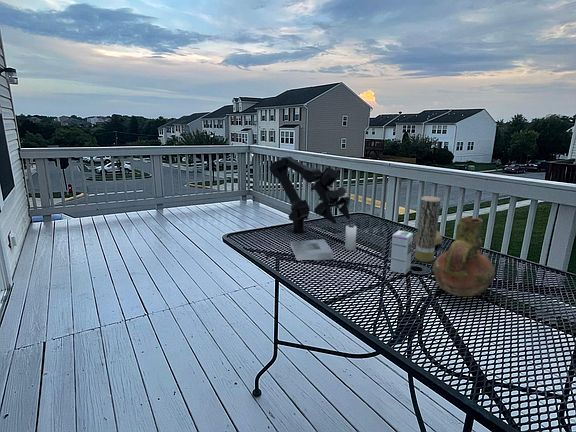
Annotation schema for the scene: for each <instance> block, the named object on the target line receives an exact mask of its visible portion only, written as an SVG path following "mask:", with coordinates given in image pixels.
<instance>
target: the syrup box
mask: <svg viewBox="0 0 576 432" xmlns="http://www.w3.org/2000/svg"><path fill="white" fill-rule="evenodd" d="M413 239H414V233H413V232H411V231H406V230H399V229H398V230H397V231H396V232H394V233H393V234H392V241H391V255H390V269H389V270H390V272H394V273H397V272H399V273H398V274H401V273H404V274H403V275H406V274H407V273H408V272H409V271H410V270H411V265H412V264H411V263H412V257H413V256H412V255H413V252H412V251H413V244H414V242H413Z"/></svg>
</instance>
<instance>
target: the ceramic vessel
mask: <svg viewBox="0 0 576 432" xmlns="http://www.w3.org/2000/svg"><path fill="white" fill-rule="evenodd" d="M483 222H484V221H483V219H482V218H480V217H466V216H465V217H463V218H462V217H460V218H459V219H458V222H457V225H456V229H455V230H456V231H455V237H454V241H453V242H452V243H451V244H450V246H449V248H448V250H447V251H445V252H442V254H440V255H439V256H437V258H436V259H435V261H434V262H433V264H432V272H433V273H434V277H435V281H436V283H437V285H438V286H439V288H440V289H441V290H442V291H445V292H446V293H448V294H451V295H453V296H458V297H472V296H474V297H475V296H478V295H480V294H482V293H484V292H485V291H486V290H487V289H488V288H489V287H490V285H491V283H493V281H494V279H495V275H496V272H495V271H496V270H495V267H494V264H493V262H492V261H491V260H490V258H488V257H487V256H486V255H483V254H482V252H481V249H482V245H483V241H482V238H481V235H482V231H483V230H482V228H483V224H484V223H483Z"/></svg>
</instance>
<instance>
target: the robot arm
mask: <svg viewBox="0 0 576 432" xmlns="http://www.w3.org/2000/svg"><path fill="white" fill-rule="evenodd" d="M288 169H291V170H292V171H294V172H296V173H298V174H299V175H301V177H302V179H303V180H305V181H306V183H308V184H311V187H310V191H311V192H313V191H315V192H316V194H317V196H318V201H319V203H318V204H317V205H316V206H315V207H314V209H313V211H314V213H315V215H316V216H319V217H322V218H325V219H326V220H327V221H329V222H331V223H333V224H334V225H336V224H337V220H336V218H335V216H334V215H333V213H332V211H331V210H332V209H333V208H335V207H336V208H337V210H338V211H339V213H340V214H342V215H343V216H344V217H345V218H346V219H347V220H350V219H351V215H350V212H349V204H350V202H351V199H350V197H349V196H346V193H347V190H346V189H345V188H344V187H343V186H341V187H339V188H337V189H335V190H334V189H330V187H331V186H333V184H334V183H335V182H336V181H337V180H338V179H339V178H340V173H338V171H337V170H335V169H334V168H332V167H331V166H327V167H325V170H324V171H321V170H320V169H318V168H316V167H312V166H311V167H310V166H307V165H306V164H304V163H302V162H300V161H298V160H297V159H295V158H293V157H292V156H284V157H282V158H281V159H279V160H277V161H275V162H274V161H273V162H271V163H270V165H269V172H270V173H271V175H272V176H273V177H274V178H275V179H277V180H278V181H279V183H280V185H281V186H282V188H283V190H284V192H285V194H286V196H287V199H289V201H290V210H291V212H290V213H289V214H288V220H289V221H292V228H290V230H291V232H293V233H294V234H299V233H305V232H306V233H307V230H306V229H305V219H308V218H309V215H310V211H311V209H310V205H309V204H308V201H307V200H306V199H302V198H300V196H299V194H298V192H297V190H296V189H295V186H294V185H293V182H292V181H291V179H290V177H289V175H288V173H289V170H288ZM312 183H314V184H312ZM320 201H321V202H320ZM331 208H332V209H331Z"/></svg>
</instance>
